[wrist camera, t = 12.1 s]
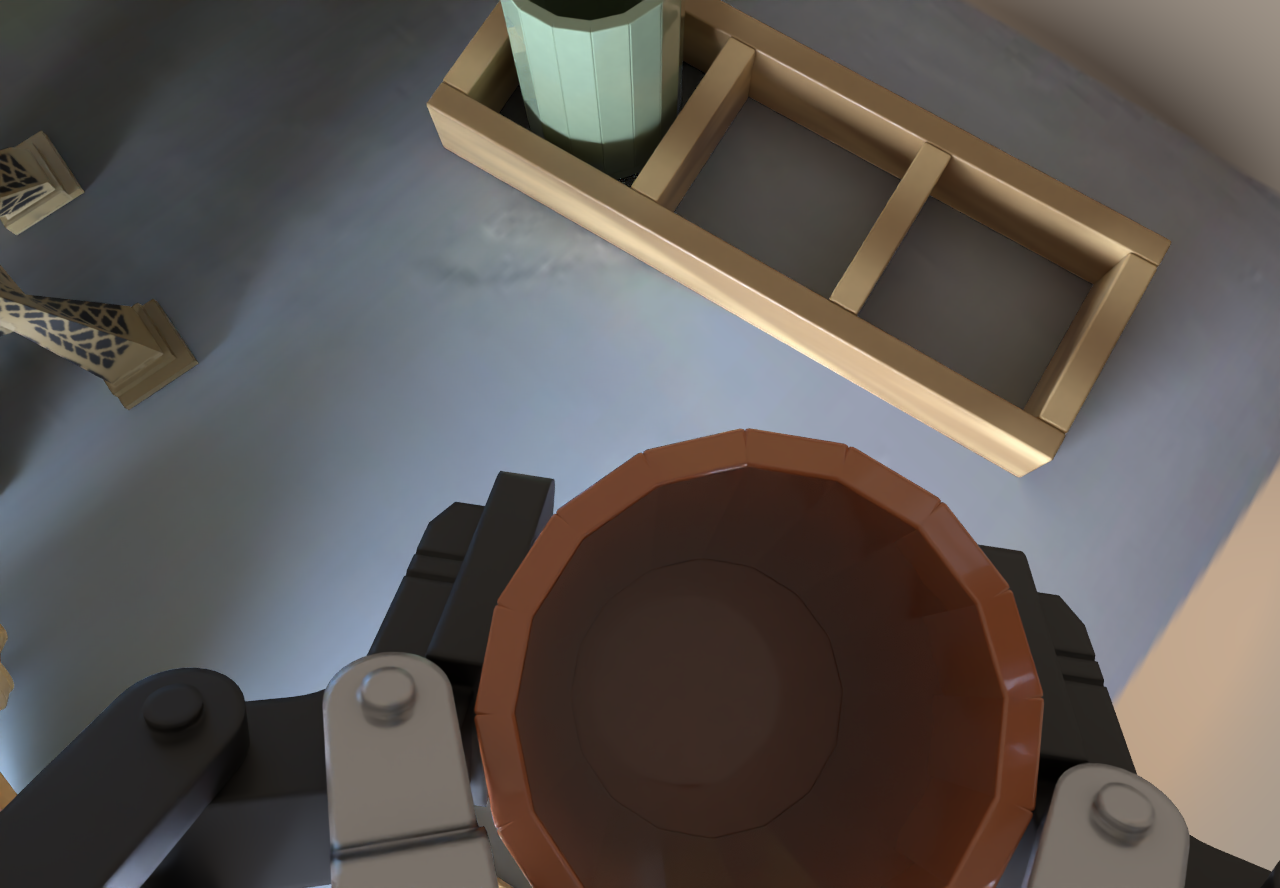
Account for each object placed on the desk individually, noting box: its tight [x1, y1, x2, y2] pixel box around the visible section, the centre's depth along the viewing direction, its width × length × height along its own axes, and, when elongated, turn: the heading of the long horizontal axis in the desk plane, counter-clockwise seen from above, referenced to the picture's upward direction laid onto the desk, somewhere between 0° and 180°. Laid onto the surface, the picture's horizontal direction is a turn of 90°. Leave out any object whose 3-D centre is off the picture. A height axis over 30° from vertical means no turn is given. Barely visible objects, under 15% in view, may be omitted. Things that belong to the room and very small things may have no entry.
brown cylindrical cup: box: [474, 428, 1044, 888], centre depth 15 cm, size 5×5×9 cm
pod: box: [500, 0, 685, 179], centre depth 34 cm, size 5×5×9 cm
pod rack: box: [427, 0, 1171, 477], centre depth 36 cm, size 8×23×3 cm, turn 58°
